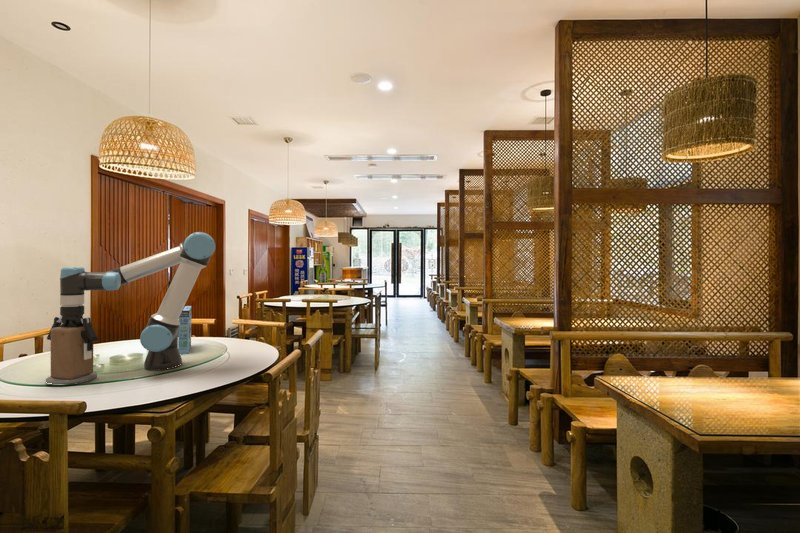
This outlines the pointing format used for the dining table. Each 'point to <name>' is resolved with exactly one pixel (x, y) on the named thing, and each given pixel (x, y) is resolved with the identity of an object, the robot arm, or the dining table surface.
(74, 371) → the wooden block
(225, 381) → the dining table surface
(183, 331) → the gum box
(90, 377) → the charcoal plate
